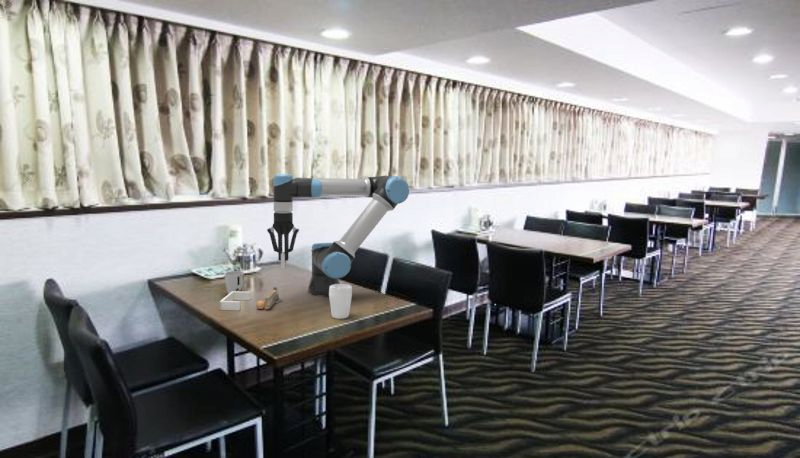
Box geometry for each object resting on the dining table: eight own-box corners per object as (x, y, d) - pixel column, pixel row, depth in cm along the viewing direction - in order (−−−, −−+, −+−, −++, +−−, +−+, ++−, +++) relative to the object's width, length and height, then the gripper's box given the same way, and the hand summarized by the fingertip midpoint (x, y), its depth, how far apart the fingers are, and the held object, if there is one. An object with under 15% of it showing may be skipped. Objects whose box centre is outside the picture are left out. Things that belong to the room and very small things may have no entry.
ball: (266, 307, 190) (266, 299, 190) (264, 310, 187) (264, 302, 186) (258, 307, 190) (257, 299, 190) (255, 310, 187) (255, 301, 186)
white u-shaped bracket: (250, 299, 201) (250, 291, 200) (239, 310, 186) (239, 302, 185) (232, 299, 200) (231, 291, 200) (219, 310, 186) (219, 301, 185)
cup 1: (238, 298, 202) (237, 275, 201) (221, 296, 204) (220, 274, 202) (247, 293, 210) (247, 271, 209) (231, 291, 212) (230, 270, 210)
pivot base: (283, 299, 203) (283, 298, 202) (280, 303, 197) (280, 302, 197) (270, 298, 202) (270, 297, 202) (266, 302, 196) (266, 302, 196)
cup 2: (340, 310, 189) (341, 282, 187) (356, 316, 183) (356, 286, 181) (324, 316, 182) (324, 286, 180) (339, 321, 176) (340, 291, 174)
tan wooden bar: (279, 298, 201) (279, 286, 200) (271, 308, 187) (270, 296, 186) (272, 298, 201) (272, 286, 200) (263, 308, 186) (263, 296, 186)
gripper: (300, 211, 193) (300, 266, 196) (269, 210, 192) (270, 265, 196) (297, 213, 185) (297, 270, 189) (264, 212, 185) (265, 269, 188)
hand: (283, 268), depth 192 cm, fingers closed
